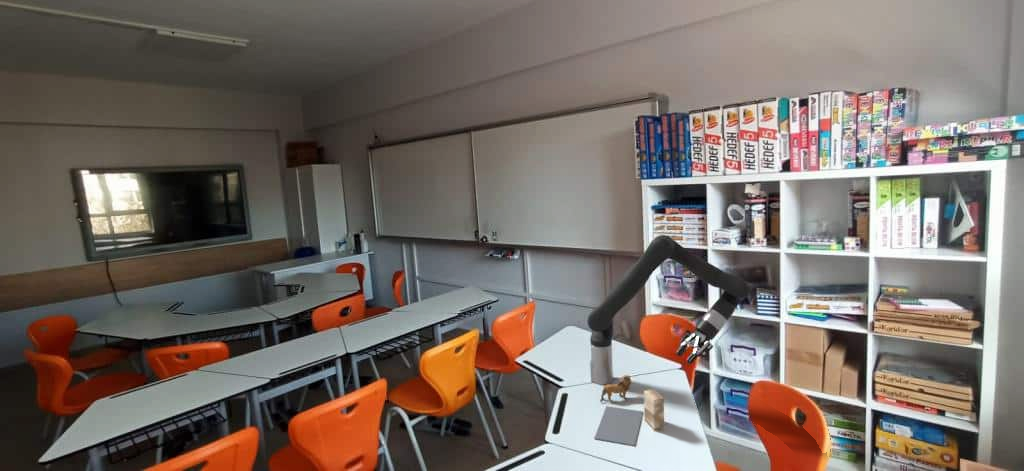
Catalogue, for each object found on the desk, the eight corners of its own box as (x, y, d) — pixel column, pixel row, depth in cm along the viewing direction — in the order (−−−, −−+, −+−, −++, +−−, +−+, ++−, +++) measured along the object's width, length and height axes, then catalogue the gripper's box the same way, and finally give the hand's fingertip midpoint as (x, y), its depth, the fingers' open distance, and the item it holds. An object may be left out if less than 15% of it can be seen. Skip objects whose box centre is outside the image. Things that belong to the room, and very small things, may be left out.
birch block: (654, 430, 166) (653, 400, 164) (644, 420, 172) (643, 390, 170) (664, 428, 167) (663, 398, 165) (654, 418, 173) (653, 389, 171)
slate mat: (594, 439, 163) (594, 438, 163) (606, 407, 183) (606, 406, 183) (634, 446, 158) (634, 445, 158) (642, 412, 178) (642, 411, 178)
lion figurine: (627, 391, 194) (626, 371, 192) (634, 397, 189) (634, 377, 187) (596, 400, 189) (596, 380, 187) (603, 406, 184) (603, 385, 182)
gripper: (693, 312, 178) (665, 345, 177) (717, 324, 164) (687, 361, 163) (705, 323, 180) (678, 356, 179) (730, 336, 166) (700, 372, 165)
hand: (682, 358), depth 171 cm, fingers open, 6 cm apart
